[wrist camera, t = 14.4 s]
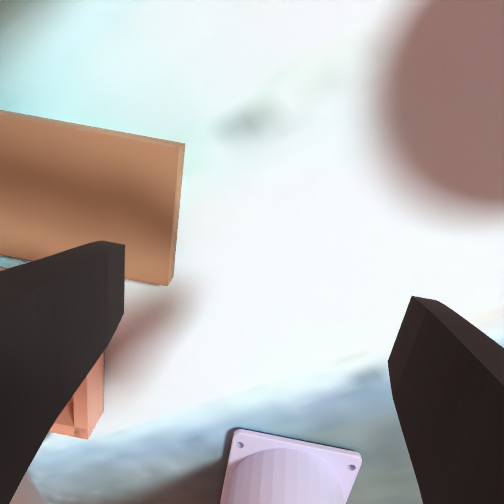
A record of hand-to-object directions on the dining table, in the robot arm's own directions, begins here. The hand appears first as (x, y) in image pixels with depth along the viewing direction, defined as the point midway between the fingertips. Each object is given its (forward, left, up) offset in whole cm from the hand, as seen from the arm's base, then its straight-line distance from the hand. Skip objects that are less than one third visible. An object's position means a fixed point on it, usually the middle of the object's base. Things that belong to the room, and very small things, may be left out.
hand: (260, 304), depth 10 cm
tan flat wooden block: (-2, +9, -11) cm, 14 cm away
